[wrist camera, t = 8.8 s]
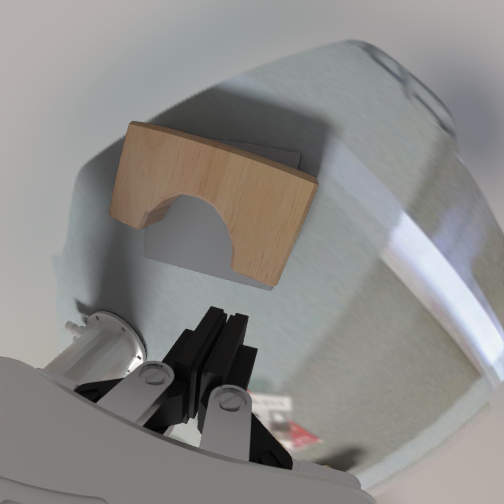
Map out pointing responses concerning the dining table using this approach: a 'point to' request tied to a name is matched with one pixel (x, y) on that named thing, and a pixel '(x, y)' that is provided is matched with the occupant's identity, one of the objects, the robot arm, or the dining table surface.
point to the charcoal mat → (204, 229)
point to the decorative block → (215, 193)
